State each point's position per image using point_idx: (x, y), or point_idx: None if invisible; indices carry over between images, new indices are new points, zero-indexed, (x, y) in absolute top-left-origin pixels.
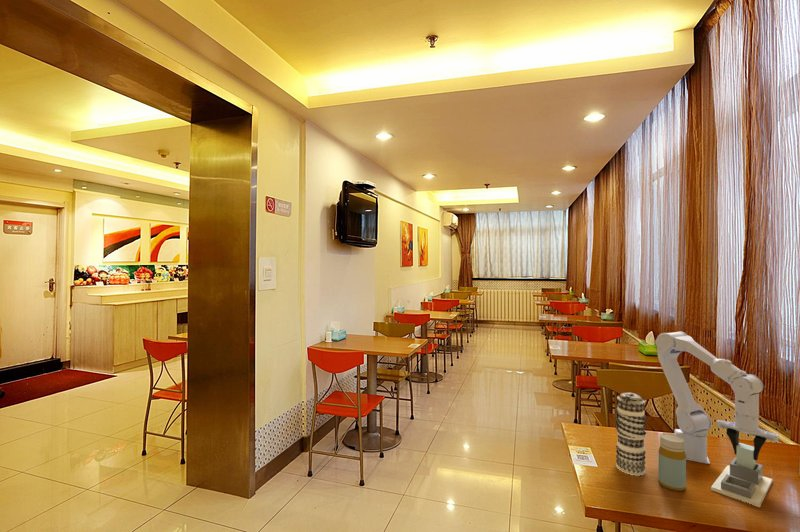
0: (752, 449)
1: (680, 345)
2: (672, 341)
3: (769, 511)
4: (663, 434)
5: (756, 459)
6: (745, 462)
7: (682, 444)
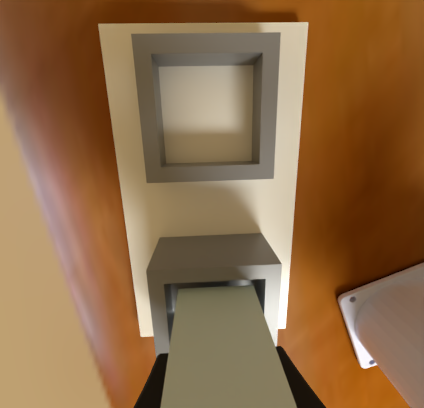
0: None
1: None
2: None
3: (67, 30)
4: None
5: (156, 360)
6: (213, 309)
7: None
